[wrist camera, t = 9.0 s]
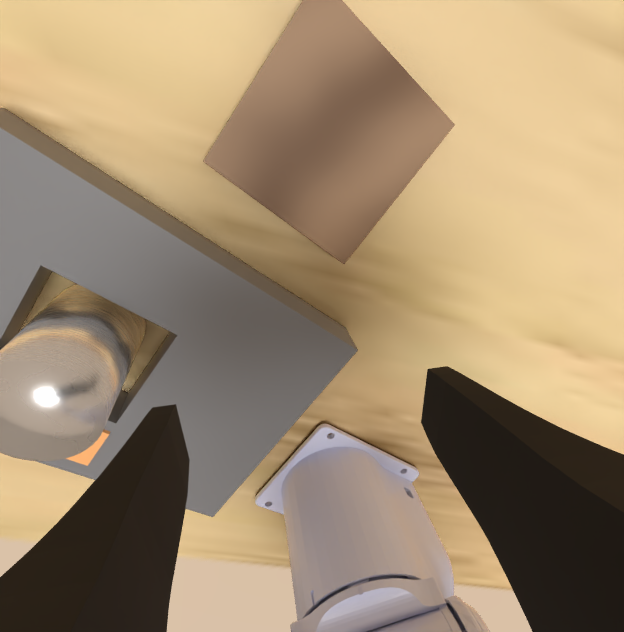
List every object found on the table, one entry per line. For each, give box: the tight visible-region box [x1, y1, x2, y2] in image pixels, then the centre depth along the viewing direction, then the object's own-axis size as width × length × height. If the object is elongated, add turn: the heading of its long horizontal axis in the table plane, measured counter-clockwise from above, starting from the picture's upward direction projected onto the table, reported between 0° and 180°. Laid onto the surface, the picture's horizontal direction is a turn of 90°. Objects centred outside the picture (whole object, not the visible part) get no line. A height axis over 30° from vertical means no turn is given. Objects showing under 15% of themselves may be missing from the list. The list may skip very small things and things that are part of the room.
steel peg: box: [0, 284, 146, 461], centre depth 16 cm, size 4×4×7 cm
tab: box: [203, 0, 455, 264], centre depth 17 cm, size 8×8×1 cm
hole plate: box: [0, 108, 358, 517], centre depth 19 cm, size 18×14×3 cm
